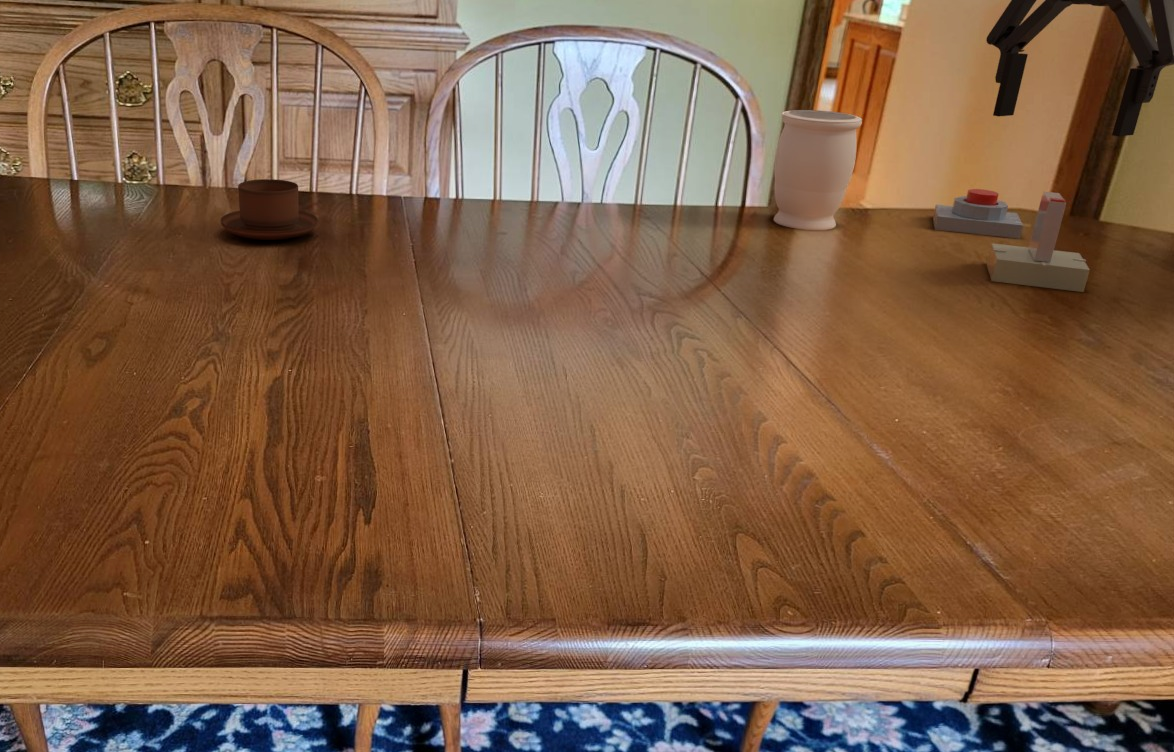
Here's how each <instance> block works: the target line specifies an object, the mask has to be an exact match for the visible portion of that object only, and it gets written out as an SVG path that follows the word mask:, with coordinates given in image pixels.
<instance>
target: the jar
mask: <svg viewBox="0 0 1174 752" xmlns="http://www.w3.org/2000/svg"><path fill="white" fill-rule="evenodd" d="M781 121H782V122H783V124H784V126H783V128H782V131H781V134H780V135H779V140H778V142H777V147H776V151H775V157H774V167H773V168H774V171H773V173H774V199H775V203H776V206H777V208H778V211H777V213H776V214H775V215H774V216H773V222H774V223H775V224H777V225H780V226H782V227H786V228H791V229H795V230H796V229H798V230H804V231H826V230H827V231H828V230H831V229H834V228H836V227H837V222H836V220H835V218H834V215H835V214H836V213H837V212H838V210H839V209H840V207H841V205H842V204H843V200H844V199H845V196H846V194H847V190H848V187H849V184H850V182H851V179H852V177H853V173H854V170H855V169H854V168H855V164H856V159H857V150H858V149H857V147H858V146H857V145H858V144H857V143H858V140H857V129H859V128H860V127H861V126H862V123H863V118H862V117H860V116H857V115H854V114H849V113H844V112H838V111H832V110H831V111H830V110H818V109H797V110H796V109H795V110H794V109H793V110H786V111H783V112H782V115H781Z"/></svg>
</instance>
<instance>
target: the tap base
mask: <svg viewBox="0 0 1174 752" xmlns="http://www.w3.org/2000/svg"><path fill="white" fill-rule="evenodd" d="M1086 262H1087V259H1085V258H1083V257H1082V255H1081V253H1080V252H1073V251H1063V250H1056V249H1054V251H1053V255H1052V259H1051V262H1042V261H1034V259H1033V257H1032V255H1031V253H1030V251H1029V246H1019V245H1009V244H1000V243H991V245H990V249H989V253H988V256H987V261H986V268H987V270H988V274H989V277H990V280H991V282H996V283H1004V284H1013V285H1021V286H1022V285H1023V286H1030V287H1038V288H1045V289H1055V290H1063V291H1070V292H1071V291H1072V292H1080V293H1084V292H1085V288H1086V285H1087V282H1088V278H1089V274H1090V271H1091V269H1090V268H1089V266H1088V264H1087V263H1086Z"/></svg>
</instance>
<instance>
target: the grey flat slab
mask: <svg viewBox="0 0 1174 752" xmlns="http://www.w3.org/2000/svg"><path fill="white" fill-rule="evenodd" d="M1066 207H1067V202H1066V200H1065V198H1064V197H1063V196H1062V195H1061V194H1060V193H1059V192H1053V191H1052V192H1051V191H1042V194H1041V199H1040V203H1039V206H1038V210H1037V214H1036V217H1035V221H1034V225H1033V228H1032V233H1031V238H1030V240H1029V245H1028V248H1029V251H1030V253H1031V255H1032V257H1033V259H1034V261H1042V262H1051V259H1052V255H1053V251H1054V250H1055V247H1056V244H1057V240H1058V236H1059V233H1060V228H1061V226H1062V221H1063V219H1064V214H1065V210H1066Z"/></svg>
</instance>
